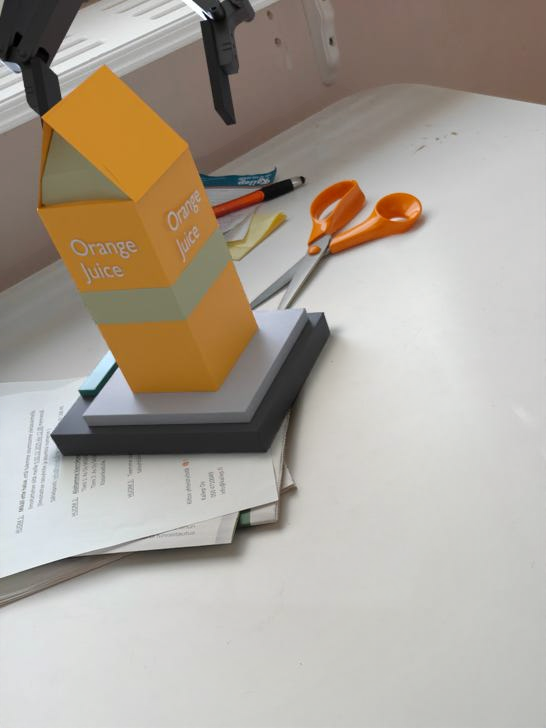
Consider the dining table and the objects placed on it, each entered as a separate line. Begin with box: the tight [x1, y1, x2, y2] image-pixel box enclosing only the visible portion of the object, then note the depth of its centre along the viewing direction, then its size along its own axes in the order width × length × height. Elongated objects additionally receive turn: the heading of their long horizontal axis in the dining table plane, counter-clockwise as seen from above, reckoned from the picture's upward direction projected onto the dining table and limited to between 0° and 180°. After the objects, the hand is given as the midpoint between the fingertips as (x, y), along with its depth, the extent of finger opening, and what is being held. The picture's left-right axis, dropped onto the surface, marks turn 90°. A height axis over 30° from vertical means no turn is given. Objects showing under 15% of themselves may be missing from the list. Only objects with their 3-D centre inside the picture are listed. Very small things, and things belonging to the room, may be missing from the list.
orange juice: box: [35, 64, 258, 393], centre depth 69 cm, size 8×9×20 cm
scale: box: [49, 307, 331, 456], centre depth 78 cm, size 18×16×3 cm
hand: (141, 135), depth 74 cm, fingers open, 13 cm apart
